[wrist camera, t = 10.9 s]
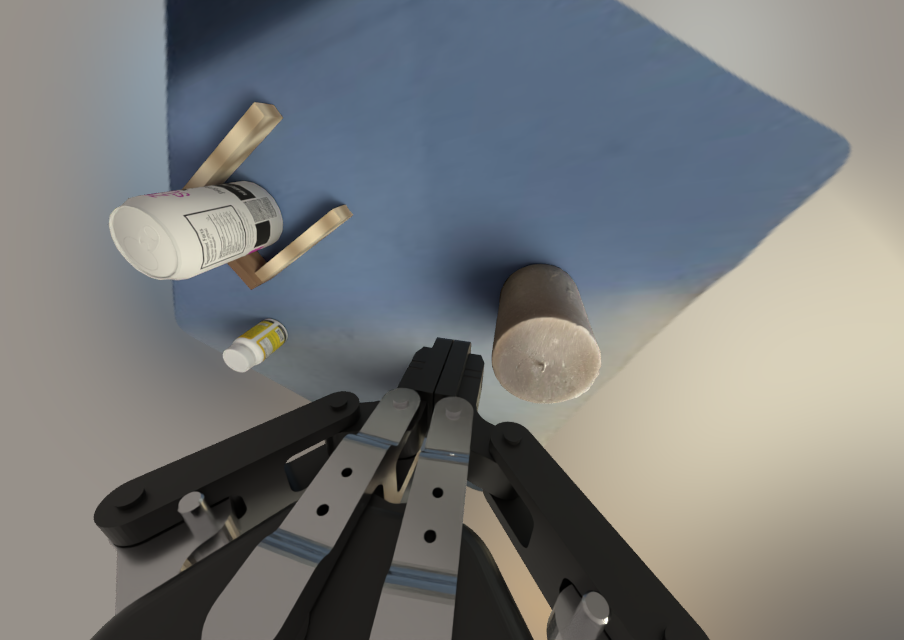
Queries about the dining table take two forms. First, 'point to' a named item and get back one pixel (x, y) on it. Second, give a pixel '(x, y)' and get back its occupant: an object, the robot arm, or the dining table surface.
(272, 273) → the bay
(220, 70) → the dining table surface
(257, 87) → the dining table surface
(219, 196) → the supplement can
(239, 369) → the supplement bottle
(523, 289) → the pillar candle
